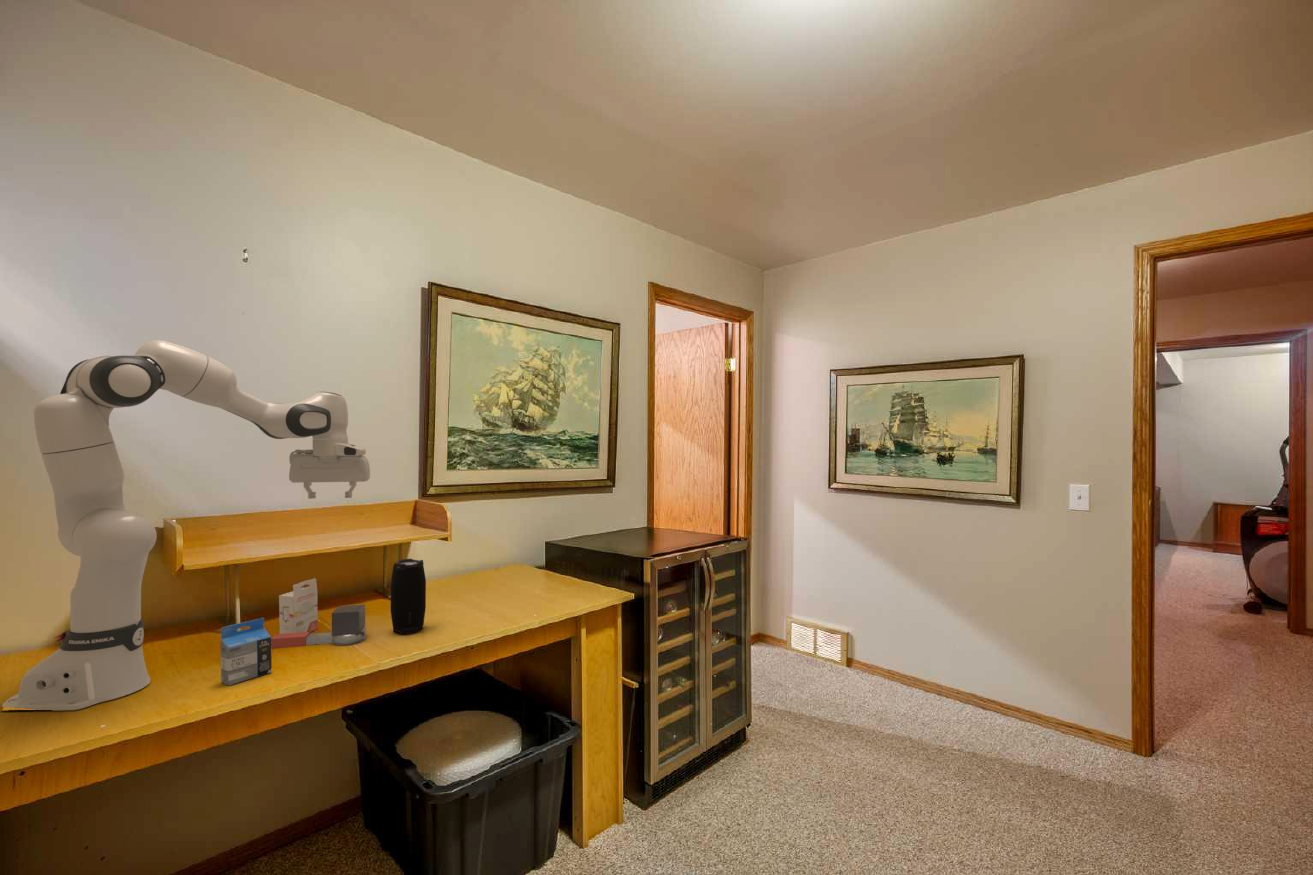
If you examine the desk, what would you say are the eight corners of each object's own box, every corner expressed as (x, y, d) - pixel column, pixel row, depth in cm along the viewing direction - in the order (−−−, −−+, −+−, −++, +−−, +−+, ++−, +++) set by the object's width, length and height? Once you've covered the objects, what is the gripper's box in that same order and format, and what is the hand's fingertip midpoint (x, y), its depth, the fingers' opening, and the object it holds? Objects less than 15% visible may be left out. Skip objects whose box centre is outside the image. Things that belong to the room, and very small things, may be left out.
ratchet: (267, 651, 148) (267, 625, 148) (279, 640, 156) (279, 616, 156) (361, 644, 154) (361, 619, 154) (368, 634, 161) (369, 610, 161)
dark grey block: (331, 636, 153) (331, 613, 153) (338, 627, 159) (338, 605, 159) (359, 634, 154) (359, 611, 154) (365, 626, 161) (365, 604, 161)
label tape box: (228, 686, 128) (228, 630, 128) (219, 682, 130) (220, 627, 130) (272, 673, 135) (272, 619, 135) (263, 669, 137) (263, 616, 137)
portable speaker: (396, 626, 169) (396, 558, 169) (429, 625, 170) (430, 557, 170) (385, 636, 160) (386, 564, 160) (420, 635, 161) (421, 564, 161)
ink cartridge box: (303, 628, 166) (303, 576, 166) (318, 629, 166) (318, 577, 165) (278, 638, 158) (278, 583, 158) (293, 639, 157) (293, 584, 157)
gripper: (285, 449, 161) (285, 500, 161) (366, 449, 166) (366, 498, 166) (293, 449, 167) (293, 497, 167) (371, 449, 172) (371, 496, 172)
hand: (330, 498), depth 166 cm, fingers open, 8 cm apart
